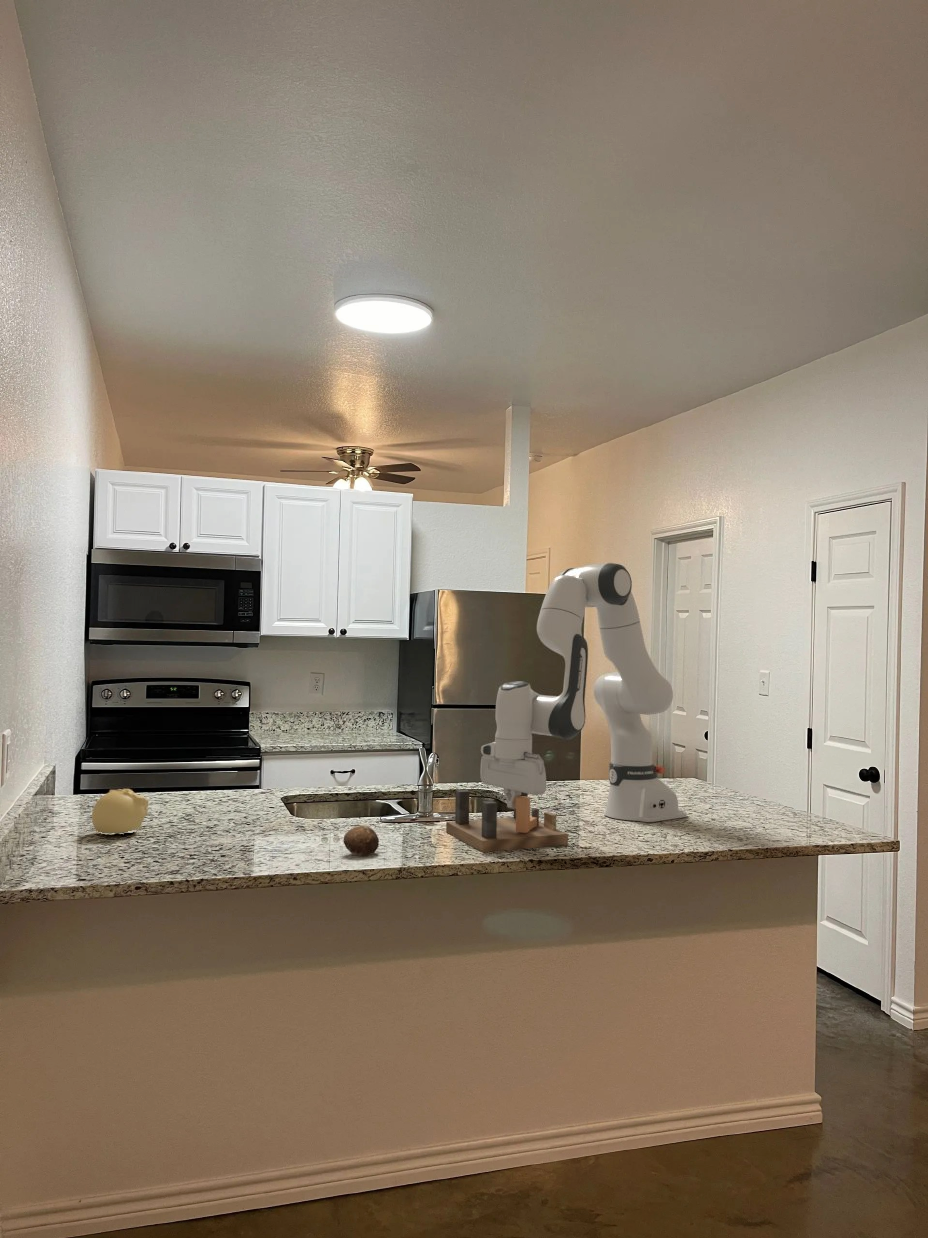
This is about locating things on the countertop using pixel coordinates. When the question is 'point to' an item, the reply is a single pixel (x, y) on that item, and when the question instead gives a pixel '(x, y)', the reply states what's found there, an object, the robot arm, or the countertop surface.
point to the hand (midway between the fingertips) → (512, 808)
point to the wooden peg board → (501, 828)
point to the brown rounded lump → (361, 840)
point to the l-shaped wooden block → (524, 815)
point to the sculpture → (119, 811)
